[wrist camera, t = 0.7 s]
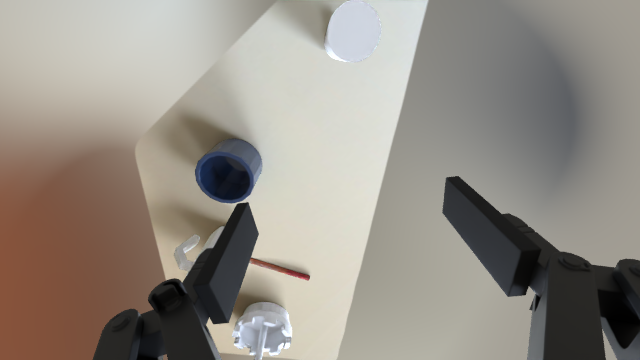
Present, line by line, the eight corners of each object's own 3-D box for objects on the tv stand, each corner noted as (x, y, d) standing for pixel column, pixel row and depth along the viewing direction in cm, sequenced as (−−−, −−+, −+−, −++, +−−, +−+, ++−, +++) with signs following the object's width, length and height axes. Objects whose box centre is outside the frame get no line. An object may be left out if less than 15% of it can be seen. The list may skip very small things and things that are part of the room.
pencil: (310, 275, 53) (310, 278, 52) (308, 278, 54) (308, 281, 53) (224, 248, 50) (222, 251, 49) (222, 251, 50) (221, 255, 49)
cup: (202, 146, 40) (183, 161, 34) (249, 132, 39) (238, 144, 33) (225, 190, 43) (212, 209, 38) (270, 177, 42) (262, 195, 37)
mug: (258, 234, 48) (244, 274, 39) (244, 263, 51) (229, 306, 42) (196, 212, 45) (167, 249, 37) (186, 244, 49) (157, 285, 40)
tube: (357, 57, 34) (382, 57, 20) (326, 62, 34) (331, 66, 21) (354, 20, 32) (380, -5, 18) (322, 26, 32) (324, 5, 19)
